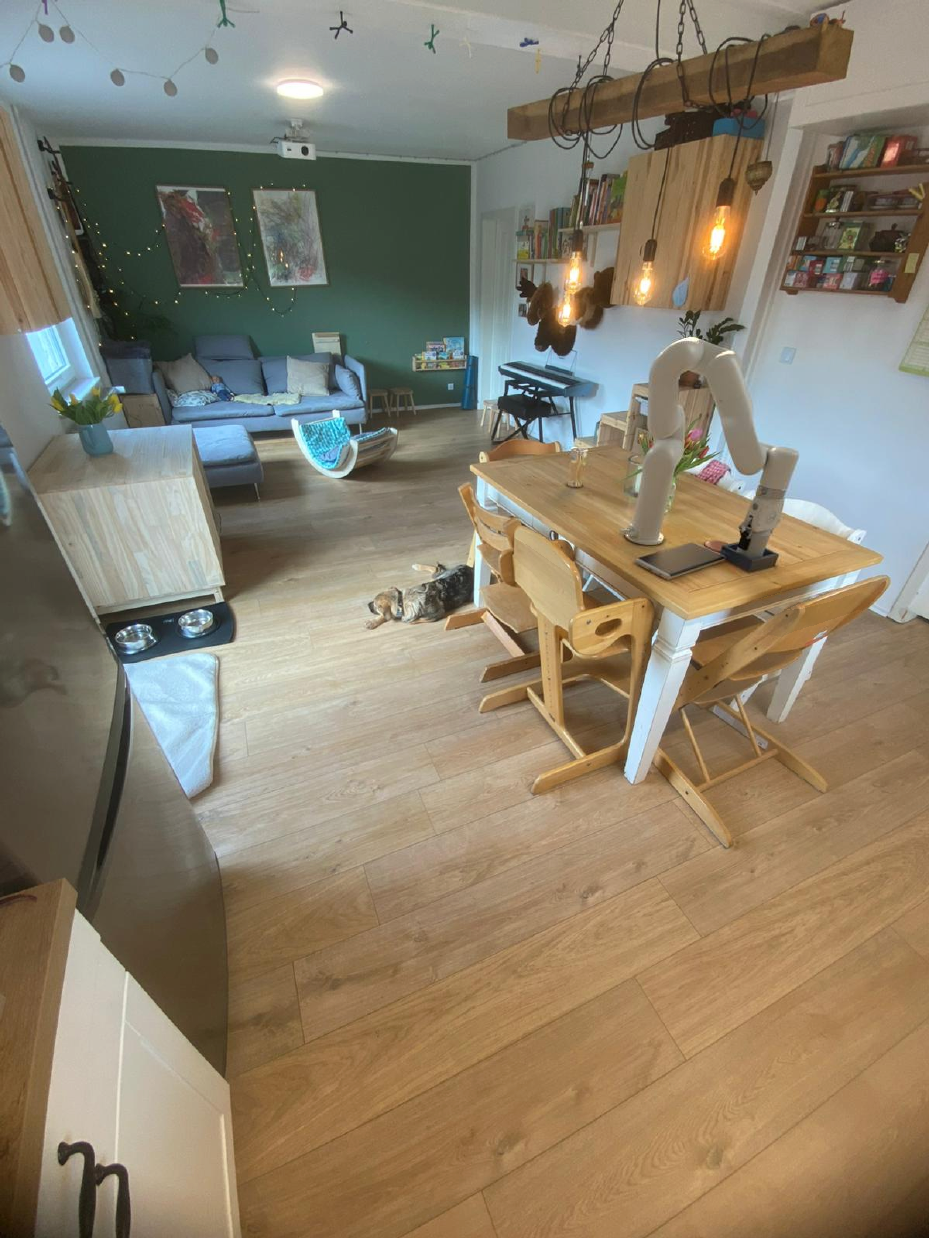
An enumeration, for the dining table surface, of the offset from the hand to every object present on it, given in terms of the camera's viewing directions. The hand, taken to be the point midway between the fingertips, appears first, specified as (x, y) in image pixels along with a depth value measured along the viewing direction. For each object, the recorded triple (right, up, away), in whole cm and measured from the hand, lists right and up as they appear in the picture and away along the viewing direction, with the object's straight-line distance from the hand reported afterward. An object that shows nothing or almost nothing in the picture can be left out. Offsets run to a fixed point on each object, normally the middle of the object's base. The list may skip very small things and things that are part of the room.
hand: (751, 546), depth 164 cm
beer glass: (-43, +34, +60) cm, 81 cm away
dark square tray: (0, -4, +3) cm, 5 cm away
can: (0, -5, +3) cm, 5 cm away
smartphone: (-22, -5, +1) cm, 22 cm away
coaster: (-5, +1, +11) cm, 12 cm away
